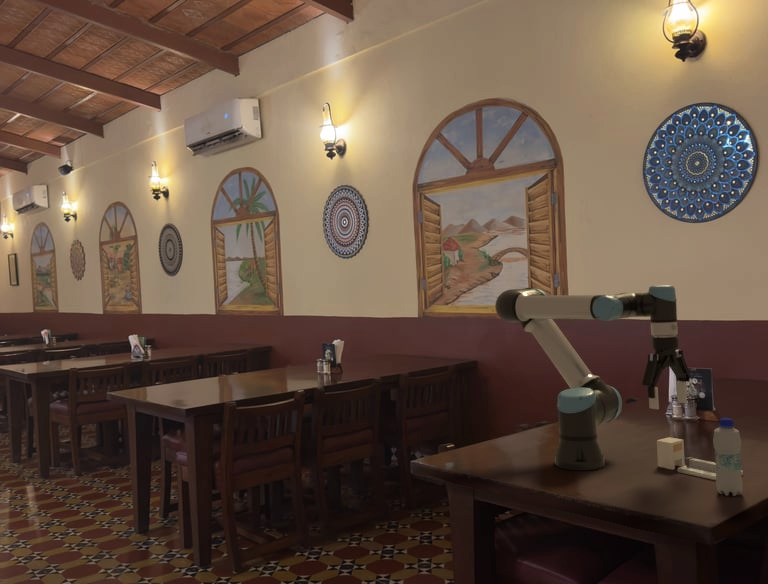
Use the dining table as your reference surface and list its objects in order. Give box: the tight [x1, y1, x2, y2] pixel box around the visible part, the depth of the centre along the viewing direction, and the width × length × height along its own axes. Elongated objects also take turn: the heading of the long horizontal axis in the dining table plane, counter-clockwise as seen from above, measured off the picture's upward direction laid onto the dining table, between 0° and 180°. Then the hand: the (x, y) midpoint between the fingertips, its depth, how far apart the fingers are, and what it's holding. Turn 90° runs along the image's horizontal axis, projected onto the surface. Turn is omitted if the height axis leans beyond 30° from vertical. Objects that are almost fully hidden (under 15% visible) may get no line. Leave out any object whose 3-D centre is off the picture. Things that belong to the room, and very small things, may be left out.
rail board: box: [677, 456, 744, 481], centre depth 202 cm, size 10×14×3 cm
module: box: [656, 436, 686, 470], centre depth 211 cm, size 6×5×8 cm
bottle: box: [712, 417, 744, 497], centre depth 183 cm, size 7×7×20 cm
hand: (668, 405), depth 211 cm, fingers open, 13 cm apart
